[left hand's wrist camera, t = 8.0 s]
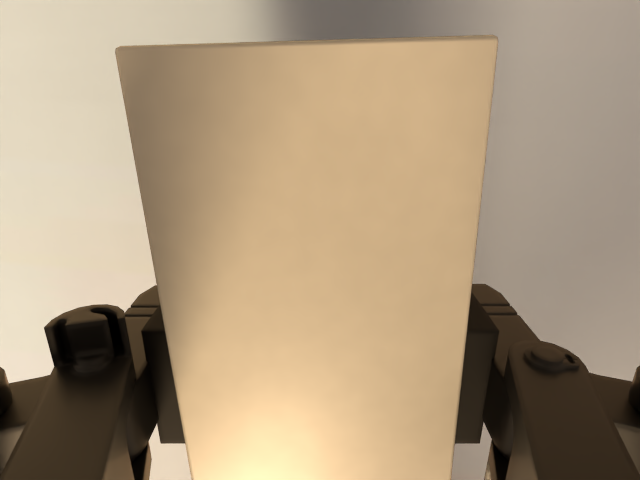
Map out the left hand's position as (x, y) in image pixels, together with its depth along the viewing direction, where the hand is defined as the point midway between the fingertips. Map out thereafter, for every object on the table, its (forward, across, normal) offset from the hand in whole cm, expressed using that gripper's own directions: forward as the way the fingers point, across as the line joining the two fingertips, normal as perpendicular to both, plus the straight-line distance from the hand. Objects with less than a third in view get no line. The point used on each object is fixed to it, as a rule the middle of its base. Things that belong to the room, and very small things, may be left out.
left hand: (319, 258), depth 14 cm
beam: (0, +1, -25) cm, 25 cm away
